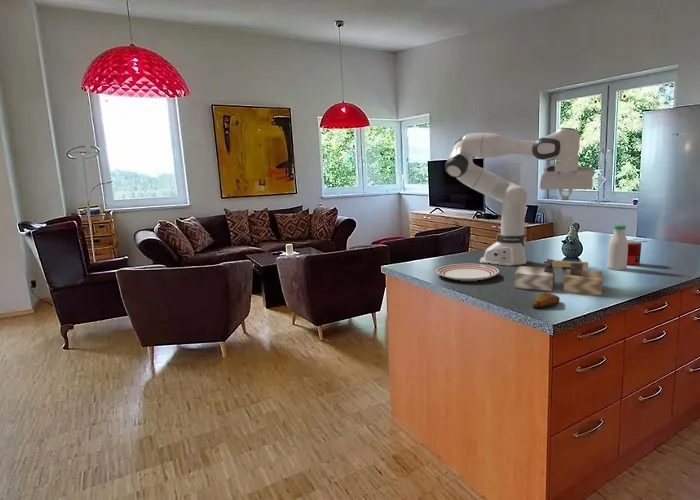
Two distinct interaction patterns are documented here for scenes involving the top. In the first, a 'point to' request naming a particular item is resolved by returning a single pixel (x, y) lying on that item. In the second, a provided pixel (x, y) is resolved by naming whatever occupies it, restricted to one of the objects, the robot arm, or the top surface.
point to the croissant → (545, 300)
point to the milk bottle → (618, 249)
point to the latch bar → (562, 263)
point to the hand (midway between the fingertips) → (565, 200)
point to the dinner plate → (467, 272)
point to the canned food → (633, 253)
